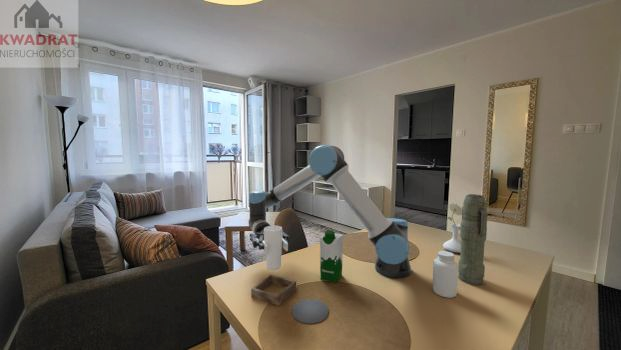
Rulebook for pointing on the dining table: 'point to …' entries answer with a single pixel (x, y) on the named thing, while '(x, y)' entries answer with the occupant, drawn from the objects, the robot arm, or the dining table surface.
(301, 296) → the dining table surface
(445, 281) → the pill bottle
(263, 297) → the walnut collar
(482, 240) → the thermos
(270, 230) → the drinking glass
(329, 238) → the milk carton
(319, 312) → the rubber coaster
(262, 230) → the robot arm
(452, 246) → the flower in vase
